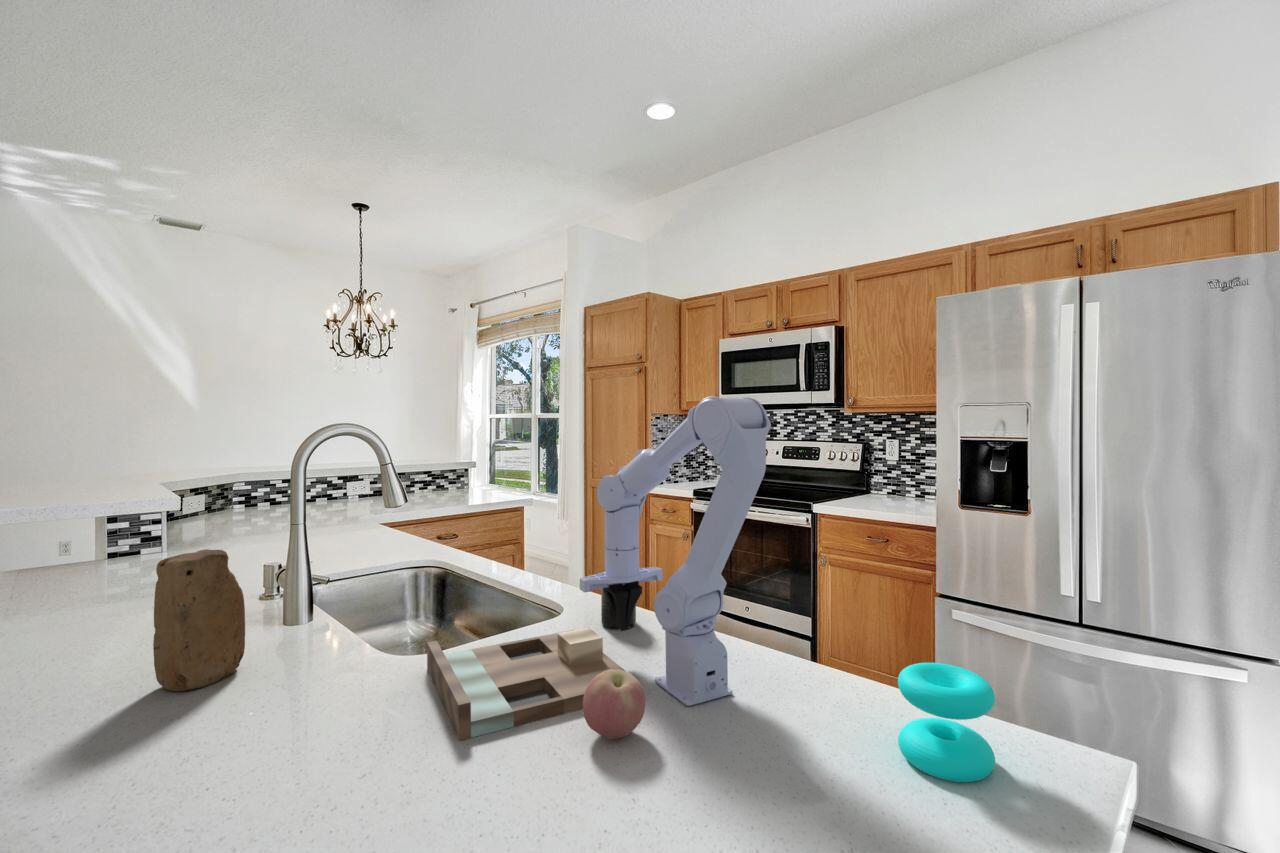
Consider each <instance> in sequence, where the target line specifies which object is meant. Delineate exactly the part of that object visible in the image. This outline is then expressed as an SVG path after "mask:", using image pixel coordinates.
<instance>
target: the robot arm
mask: <svg viewBox="0 0 1280 853" xmlns="http://www.w3.org/2000/svg"><path fill="white" fill-rule="evenodd" d="M771 426H772V423H771V421H770V419H769V416H768V414H767V412H766V410H765V408H764V406H763V404H762V403H761V402H760V401H759V400H757V399H755V398H752V397H742V398H737V397H736V398H735V397H734V398H733V397H718V396H707V397H704V398H702V399H701V400H700V401H699V402H698V403H697V405H695V406H693V407H691V408H690V409H689V410H688V413H687V417H686V418H684V420H683V421H682V422H681V423H680V424H679V425H678V426H677V427H676V428H675V429H674V430H673V431H672V432H671V433H670V434H669V435H668V436H667V437H666V438H665V439H664V440H663V441H662V442H661V443H660V444H659V445H658V446H657V447H656V448H655V449H654V448H646V449H638V450H637V451H636V452H635V453H634V454H635V457H634V458H633V459H632V460H630V462H629V463H627V464H626V465H624V466H621V467H620V468H619V469H618V472H617V473H616V474H615V475H611V474H609V475H604V476H603V477H602V478H601V480H600V481H599V482H598V484H597V488H596V496H597V501H598V504H599V505H600V507H601V508H602V509H603V510H604V571H602V572H599V573H596V574H595V573H594V574H592V575H587V576H584V577H579V590H580V591H581V592H583V593H588V592H589V593H590V592H591V591H593V590H601V589H602V588H603V591H604V592H605V594H606V596H607V598H608V600H609V602H610V605H611V608H612V611H613V614H614V618H615V622H616V627H617V628H618V629H617V630H620V631H621V632H622V631H627V630H629V629H630V627H629V625H630V621H631V617H632V613H633V610H634V608H635V605H636V606H637V602H638V600H639V599H640V597H641V595H642V593H643V587H642V585H639V584H640V583H645V582H652V581H653V582H654V581H657V582H659V581H663V579H664V578H663V576H664V575H663V568H660V567H658V566H651V567H640V518H641V515H642V508H643V505H644V504H645V502H646V499H647V495H648V494H649V493H650V492H651V491H653V490H654V489H655V488H656V487H658V486H659V485H660V484H661V483H663V482H664V481H666V479H668V478H669V475H670V472H671V471H670V470H671V469H670V468H671V466H672V465H673V464H675V463H677V461H679V460H680V459H682V458H683V457H684V456H686V455H687V454H689V453H690V452H691V451H692V450H694V449H695V448H696V447H699V446H700V445H701V444H702V443H703V444H704V446H705V447H706V448H707V450H708V451H709V453H710V454H711V456H712V457H713V458H714V460H715V461H716V462H717V463H718V464H719V466H720V469H721V474H720V476H719V477H718V481H717V483H716V485H715V487H714V490H713V493H712V495H711V498H710V501H709V502H708V506H707V508H706V510H705V512H704V515H703V517H702V520H701V522H700V525H699V527H698V530H697V532H696V535H695V537H694V540H693V542H692V544H691V547H690V549H689V552H688V554H687V556H686V559H685V561H684V563H683V564H682V565H681V566H680V567H679V568H678V569H677V570H675V572H674V573H672V574H671V576H669V578H668V580H667V582H666V584H665V586H663V587H662V588H661V589H659V591H658V592H657V593H656V594H655V597H654V601H653V610H654V614H655V617H656V619H657V621H658V622H659V624H660V625H661V629H662V630H663V631H665V674H664V675H660V676H657V677H655V678H654V682H655V683H656V684H658V685H659V686H660V687H662V688H663V689H664V690H666V691H667V692H668V693H670V694H671V695H672V696H673V697H675V699H677V700H679V702H681V703H683V704H684V705H685V706H686V707H687V706H688V707H691V706H694V705H698V704H702V703H704V702H708V701H711V700H715V699H719V698H723V697H726V696H729V695H732V694H733V689H731V688H730V687H729V686H728V684H729V683H728V680H729V679H728V668H729V667H728V651H727V648H726V646H725V645H724V643H723V642H722V641H721V640H720V639H719V638H718V637H717V635H716V633H715V627H714V626H715V625H716V624H717V616H718V615H719V614H720V613H721V612H722V610H723V608H724V591H725V589H726V587H727V584H728V583H727V581H726V579H725V578H724V576H723V575H722V572H723V570H724V568H725V566H726V563H727V562H728V559H729V557H730V554H731V552H732V550H733V548H734V546H735V544H736V541H737V538H738V536H739V534H740V533H741V530H742V527H743V525H744V522H745V520H746V517H747V515H748V514H749V511H750V508H751V506H752V504H753V501H754V499H755V497H756V495H757V494H758V493H757V492H758V491H759V488H760V485H761V483H762V481H763V478H764V477H765V473H766V470H767V436H768V434H769V431H770V429H771Z"/></svg>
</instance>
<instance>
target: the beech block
mask: <svg viewBox="0 0 1280 853" xmlns="http://www.w3.org/2000/svg"><path fill="white" fill-rule="evenodd" d="M572 630H573V631H571V630H567V632H565V631H561V632H562V633H560V632H557V633H558V656H559V657H561V658H562V659H563V660H564V661H565V662H566V663H567V664H568V665H569V666H570V667H573V666H577V665H582V664H586V663H591V662H595V661H600V660H603V653H604V652H603V650H604V646H603V643H604V641H603V637H602V636H601V635H600V634H598V633H596V632H595V631H594V630H593V629H591V628H590V627H585V628H580V629H572Z"/></svg>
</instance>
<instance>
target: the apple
mask: <svg viewBox="0 0 1280 853" xmlns="http://www.w3.org/2000/svg"><path fill="white" fill-rule="evenodd" d="M624 670H625V669H624ZM624 670H619V669H610V670H606V671H604V672H602V673H600V674H598V675H597V676H596V677H595V678H594V679H592V681H591V682H590V683H589V685H588V686H587V688H586V691H585V694H584V697H583V709H582V713H583V718H584V720H585V721H586V722H585V723H586V724H587V726H588V727H589V728H590V730H592V731H594V732H595V733H597V734H598V735H599V736H600V737H604V738H608V739H611V740H612V739H616V740H617V739H623V738H625V737H627V736H629V735H630V734H631V733H632V732H633V731H634V730H635V729H636V728H637V727H638V725H639V724H640V723H641V722H642V719H643V717H644V715H645V710H646V693H645V690H644V687H643V686H642V684H641V683H640V681H639V680H638V679H637V678H636V677H635V676H634V675H632V674H631V673H630V672H628V671H626V670H625V671H624Z"/></svg>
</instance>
